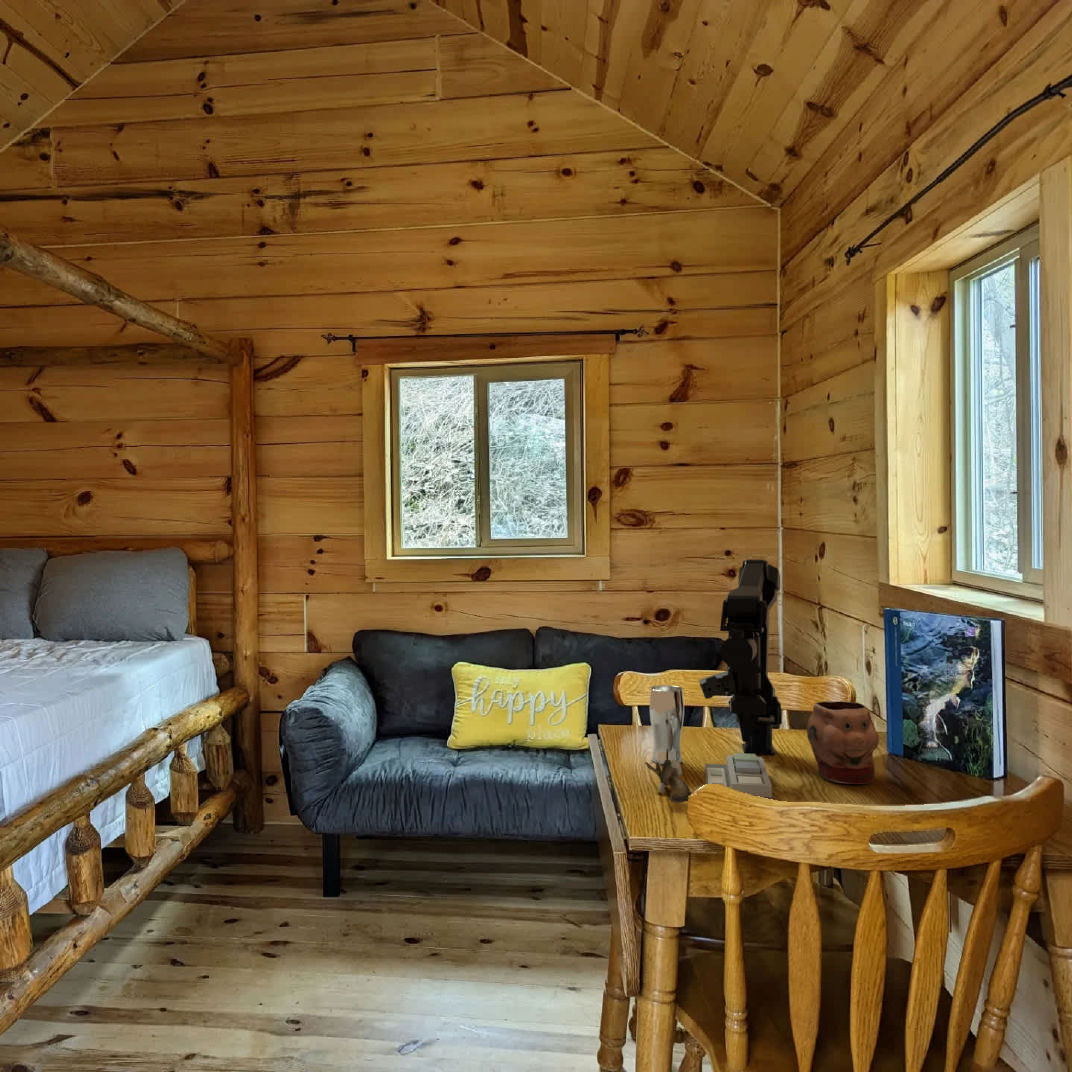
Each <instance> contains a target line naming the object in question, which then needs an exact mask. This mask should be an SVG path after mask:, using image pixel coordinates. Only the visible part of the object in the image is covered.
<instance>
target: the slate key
mask: <svg viewBox="0 0 1072 1072" xmlns="http://www.w3.org/2000/svg"><path fill="white" fill-rule="evenodd" d="M736 773H745V774H760V767H759V764H758V762H741V761H736Z"/></svg>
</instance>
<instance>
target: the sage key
mask: <svg viewBox="0 0 1072 1072" xmlns="http://www.w3.org/2000/svg"><path fill="white" fill-rule="evenodd" d="M733 756H734V763H735V764H736V761H741V762H757V758H756V757H757V754H747V753H742V752H741V753H738V752H736V753H735V752H734V753H733Z"/></svg>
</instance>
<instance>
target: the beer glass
mask: <svg viewBox="0 0 1072 1072" xmlns="http://www.w3.org/2000/svg"><path fill="white" fill-rule="evenodd" d="M649 694H650V695H649V718H650V719H649V720H650V725H651V732H652V736H653V751H652V758H651V761H652V763H654V764H655V765H656V764H657V763H659V765H660V766H663V764H664V761H665V760H670V761H671V760H676V761H678V763H680V765H681V764H682V762H683V756H682V755H683V754H682V750H681V738H682V731H683V725H684V717H685V700H684V688H683V687H681V686H678V685H669V684H660V685H659V684H657V685H653V686H651V687H650V693H649Z"/></svg>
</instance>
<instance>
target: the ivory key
mask: <svg viewBox="0 0 1072 1072" xmlns="http://www.w3.org/2000/svg"><path fill="white" fill-rule="evenodd" d="M738 782H739V783H758V784H763V783H762V780H761V777H744V776H738Z"/></svg>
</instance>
